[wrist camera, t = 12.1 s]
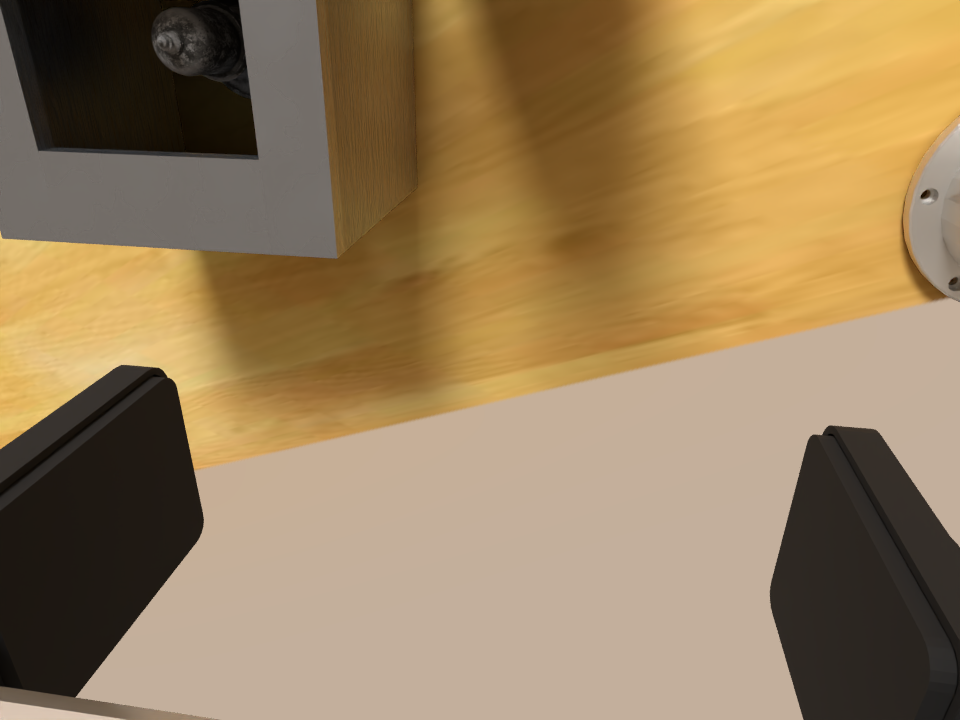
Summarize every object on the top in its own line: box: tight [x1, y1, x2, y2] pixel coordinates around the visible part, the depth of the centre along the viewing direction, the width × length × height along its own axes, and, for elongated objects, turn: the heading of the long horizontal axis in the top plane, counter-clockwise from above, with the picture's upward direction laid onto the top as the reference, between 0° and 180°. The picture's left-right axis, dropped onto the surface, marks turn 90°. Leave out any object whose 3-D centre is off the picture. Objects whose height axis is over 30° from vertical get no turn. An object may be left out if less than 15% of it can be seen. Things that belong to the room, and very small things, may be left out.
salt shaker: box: [151, 0, 251, 99], centre depth 35 cm, size 6×6×12 cm
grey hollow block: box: [0, 0, 417, 259], centre depth 34 cm, size 16×16×14 cm
